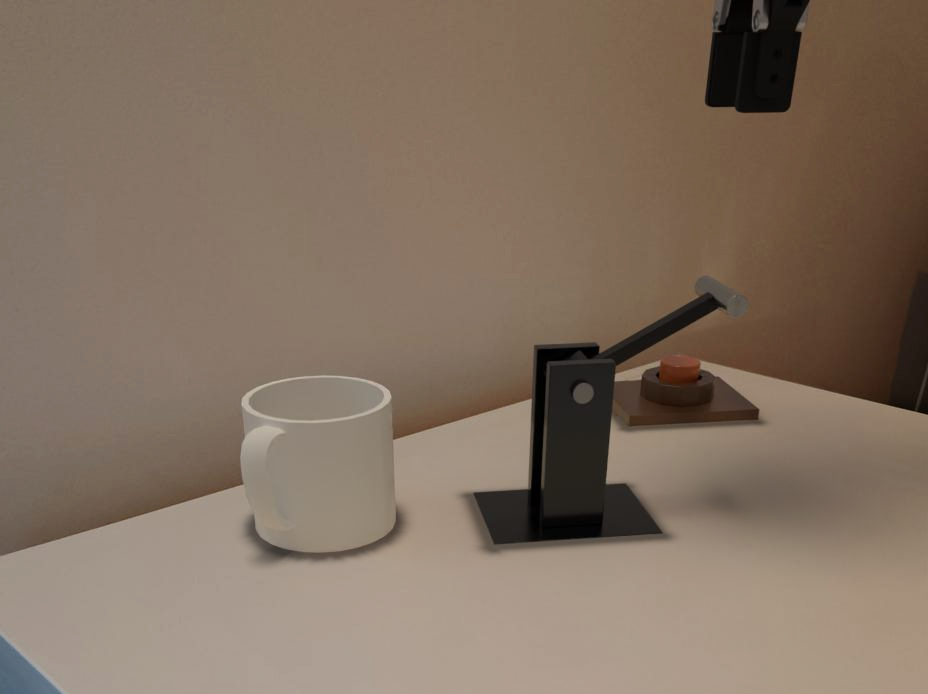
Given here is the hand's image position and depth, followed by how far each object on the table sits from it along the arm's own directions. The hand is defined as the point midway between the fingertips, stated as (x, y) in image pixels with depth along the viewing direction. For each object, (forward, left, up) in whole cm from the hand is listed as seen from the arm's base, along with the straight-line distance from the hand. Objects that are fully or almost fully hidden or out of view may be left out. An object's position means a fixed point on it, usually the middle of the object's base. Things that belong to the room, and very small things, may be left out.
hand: (745, 105), depth 60 cm
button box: (-6, -22, -27) cm, 36 cm away
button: (-6, -22, -24) cm, 33 cm away
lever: (+5, 0, -15) cm, 16 cm away
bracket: (+10, 0, -27) cm, 29 cm away
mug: (+28, 0, -28) cm, 39 cm away
